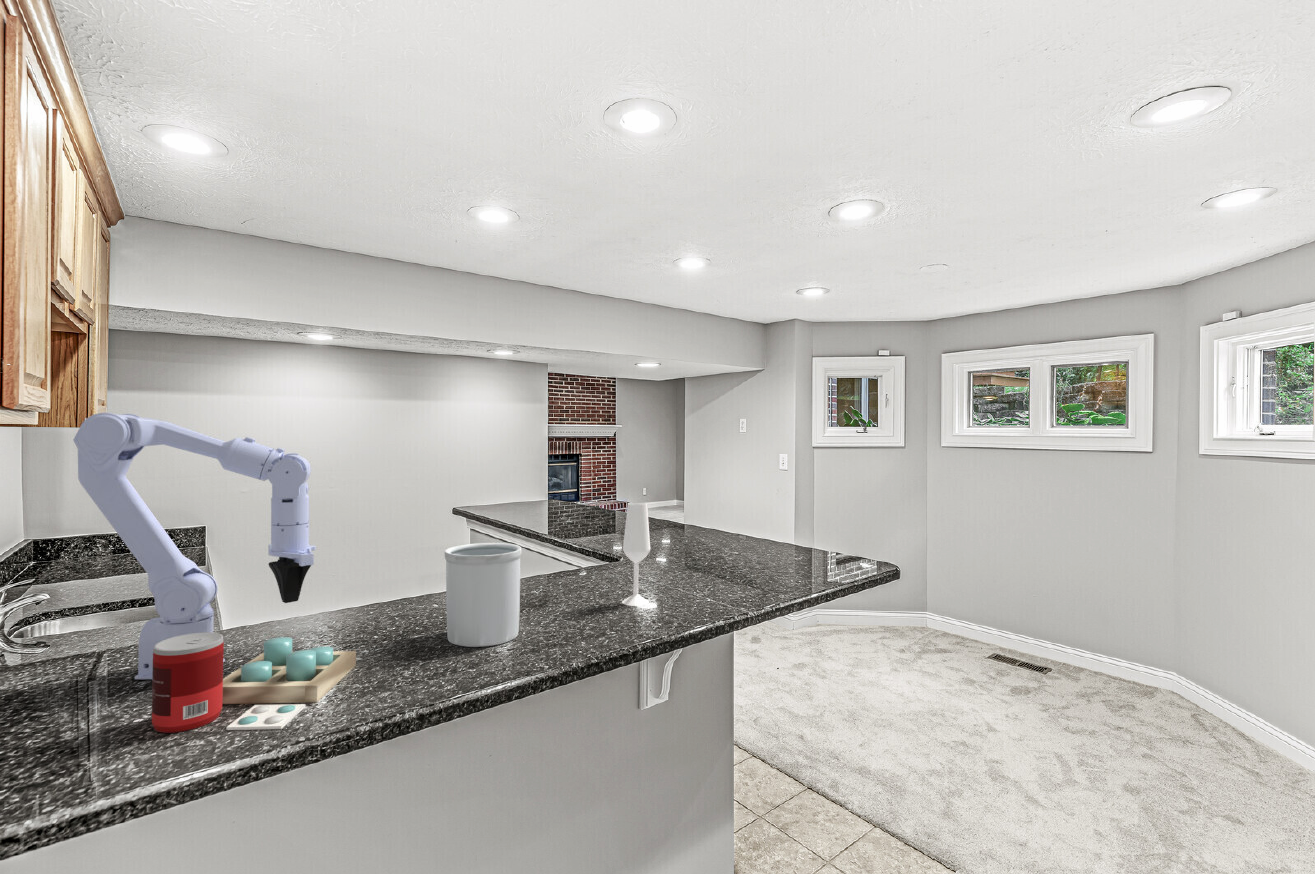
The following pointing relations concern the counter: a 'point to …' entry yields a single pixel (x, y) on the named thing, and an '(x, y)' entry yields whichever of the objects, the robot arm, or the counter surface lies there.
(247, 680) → the button
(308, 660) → the button
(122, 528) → the robot arm
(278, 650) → the button
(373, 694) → the counter surface
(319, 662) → the button
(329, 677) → the wooden compartment tray
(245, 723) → the tile
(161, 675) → the canned food
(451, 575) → the utensil holder
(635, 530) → the champagne flute
